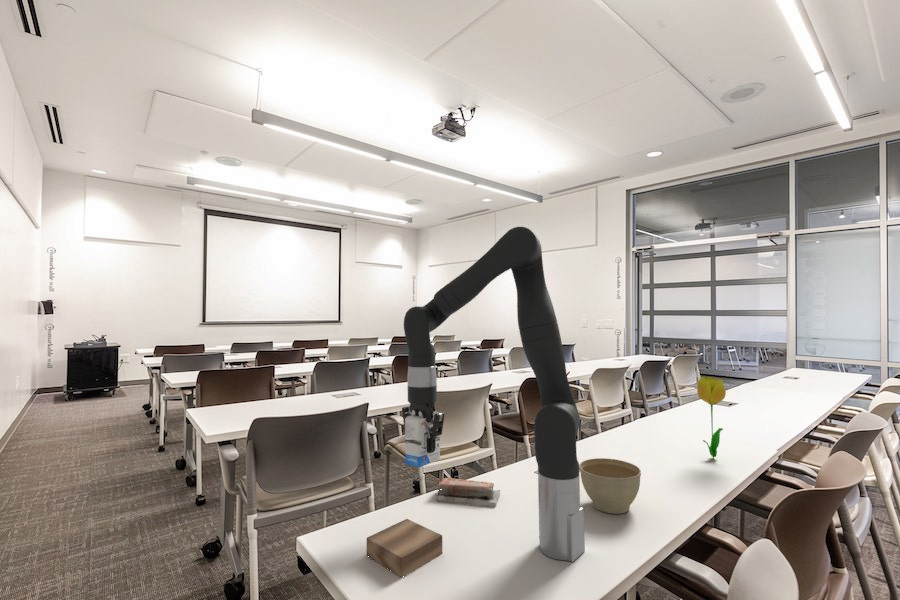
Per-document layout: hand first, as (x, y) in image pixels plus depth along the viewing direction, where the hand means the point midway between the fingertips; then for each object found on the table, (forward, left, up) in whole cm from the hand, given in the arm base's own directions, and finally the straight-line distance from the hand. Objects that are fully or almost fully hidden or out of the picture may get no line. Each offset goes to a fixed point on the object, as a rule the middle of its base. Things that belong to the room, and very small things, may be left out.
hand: (422, 449), depth 108 cm
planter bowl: (-31, -42, -20) cm, 56 cm away
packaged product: (+3, -21, -20) cm, 29 cm away
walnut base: (-6, +12, -19) cm, 23 cm away
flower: (-44, -106, -19) cm, 117 cm away
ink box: (0, 0, -3) cm, 3 cm away
